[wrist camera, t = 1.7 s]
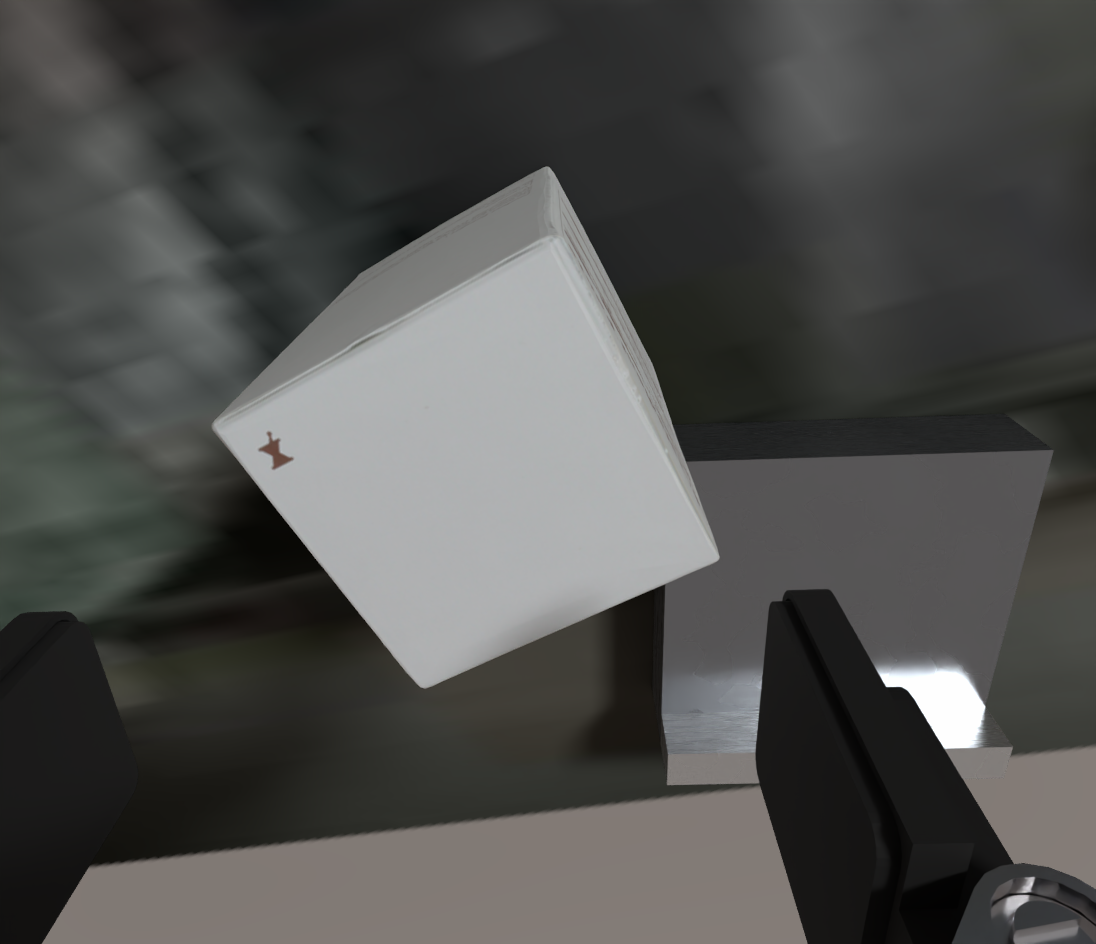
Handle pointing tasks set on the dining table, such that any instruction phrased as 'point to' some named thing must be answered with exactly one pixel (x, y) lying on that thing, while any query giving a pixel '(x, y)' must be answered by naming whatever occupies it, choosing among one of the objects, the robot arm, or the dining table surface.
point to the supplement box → (476, 439)
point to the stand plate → (848, 572)
